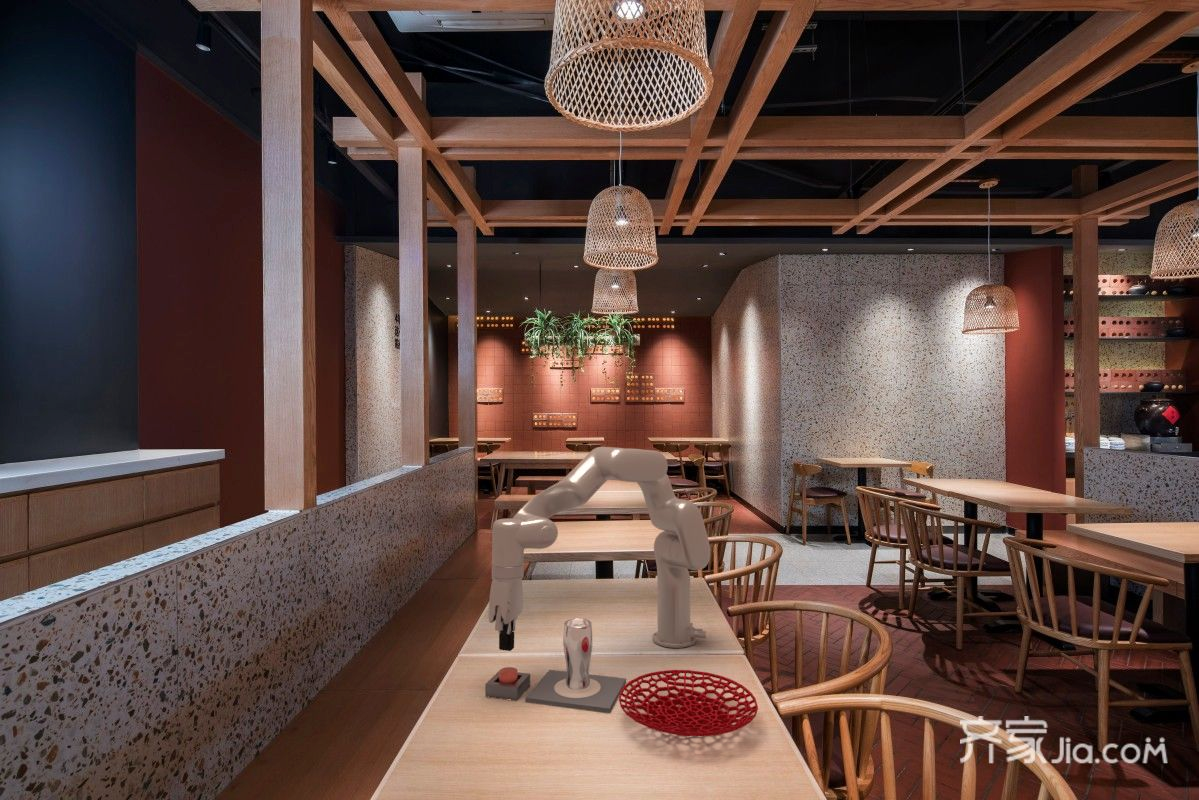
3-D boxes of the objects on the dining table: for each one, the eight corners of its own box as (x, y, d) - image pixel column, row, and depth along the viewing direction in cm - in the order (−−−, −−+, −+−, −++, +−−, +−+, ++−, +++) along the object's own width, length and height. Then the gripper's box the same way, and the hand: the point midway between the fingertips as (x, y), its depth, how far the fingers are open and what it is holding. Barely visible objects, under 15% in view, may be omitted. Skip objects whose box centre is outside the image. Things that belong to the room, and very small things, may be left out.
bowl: (667, 775, 113) (667, 748, 114) (595, 707, 140) (595, 685, 140) (788, 737, 127) (788, 712, 127) (701, 681, 153) (701, 661, 153)
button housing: (530, 686, 151) (530, 673, 151) (517, 700, 143) (517, 687, 143) (499, 682, 153) (499, 670, 153) (485, 696, 145) (485, 683, 145)
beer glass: (589, 694, 143) (588, 628, 144) (559, 691, 145) (559, 626, 145) (595, 681, 150) (595, 619, 151) (567, 679, 152) (567, 617, 152)
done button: (520, 680, 149) (520, 668, 149) (513, 688, 145) (513, 675, 145) (503, 678, 150) (503, 666, 151) (495, 686, 146) (495, 673, 146)
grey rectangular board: (626, 682, 152) (626, 677, 152) (609, 713, 137) (609, 707, 137) (549, 673, 158) (549, 668, 158) (525, 702, 142) (525, 696, 142)
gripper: (506, 563, 156) (505, 637, 156) (479, 577, 142) (477, 659, 141) (534, 565, 154) (533, 640, 154) (509, 580, 140) (508, 662, 139)
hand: (506, 649), depth 148 cm, fingers closed
